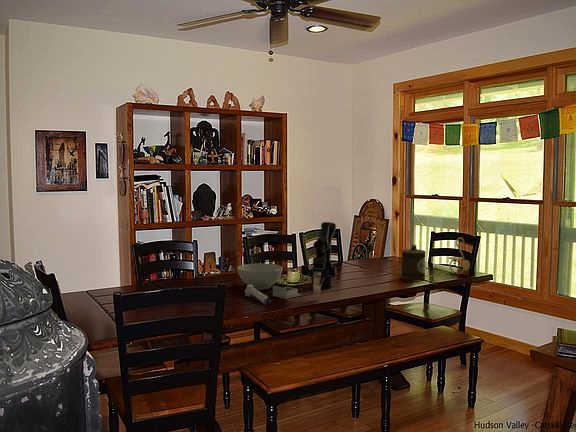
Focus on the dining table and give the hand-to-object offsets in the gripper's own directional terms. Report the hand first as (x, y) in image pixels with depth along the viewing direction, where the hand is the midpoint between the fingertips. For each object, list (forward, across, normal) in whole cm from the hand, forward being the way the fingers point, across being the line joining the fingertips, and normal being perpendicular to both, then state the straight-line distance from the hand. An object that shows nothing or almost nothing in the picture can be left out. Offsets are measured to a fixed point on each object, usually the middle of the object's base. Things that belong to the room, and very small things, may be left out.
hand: (316, 283), depth 268 cm
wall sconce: (-59, +79, +73) cm, 123 cm away
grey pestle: (+10, -32, +4) cm, 33 cm away
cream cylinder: (+4, 0, +6) cm, 7 cm away
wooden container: (-43, +50, +57) cm, 88 cm away
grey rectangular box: (+1, -18, +12) cm, 22 cm away
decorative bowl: (-10, -38, +24) cm, 46 cm away
